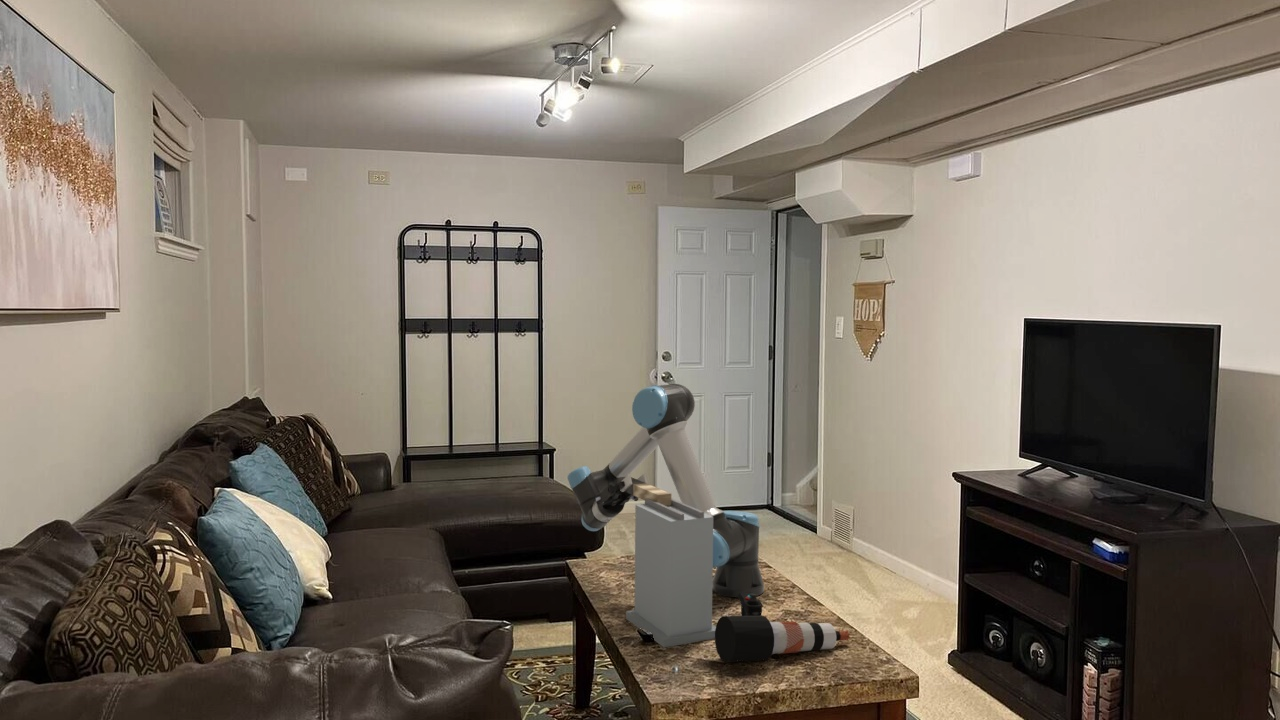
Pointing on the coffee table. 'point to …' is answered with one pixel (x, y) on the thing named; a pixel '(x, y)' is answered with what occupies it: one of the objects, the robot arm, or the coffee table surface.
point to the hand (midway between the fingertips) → (637, 478)
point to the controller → (750, 604)
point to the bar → (647, 491)
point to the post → (673, 573)
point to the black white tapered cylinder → (770, 637)
